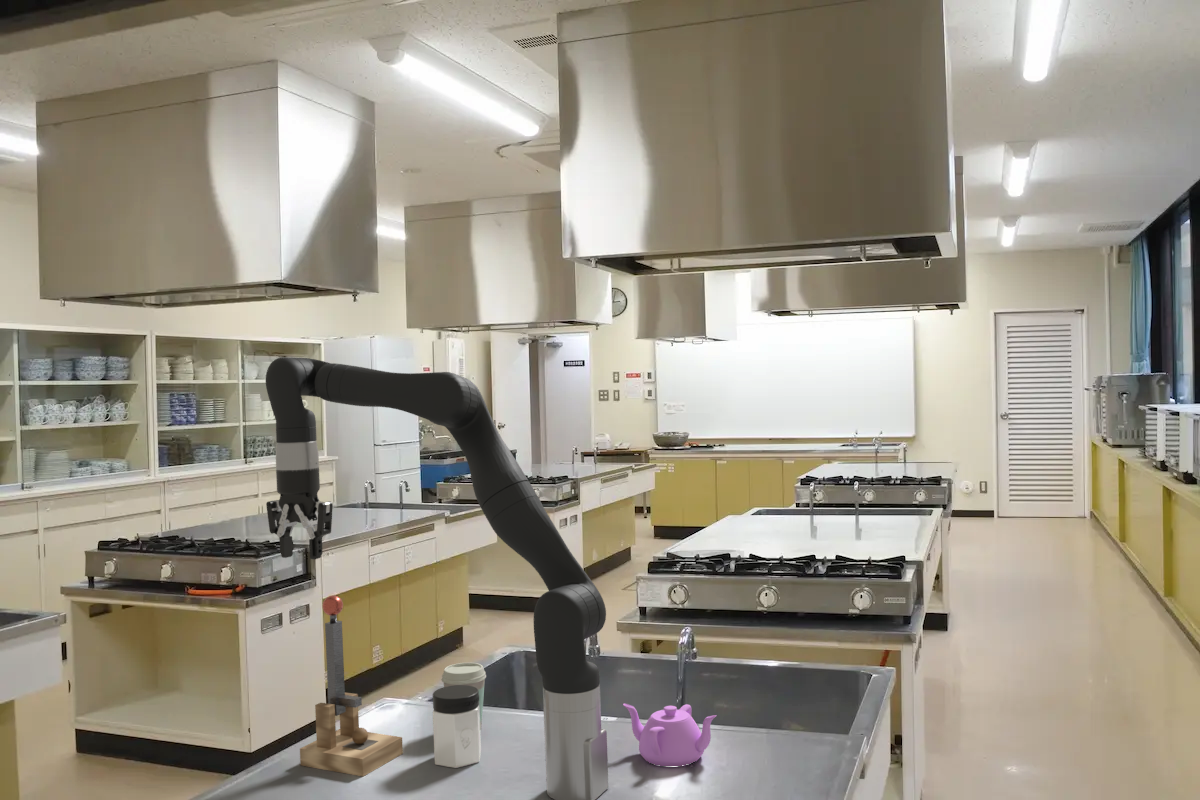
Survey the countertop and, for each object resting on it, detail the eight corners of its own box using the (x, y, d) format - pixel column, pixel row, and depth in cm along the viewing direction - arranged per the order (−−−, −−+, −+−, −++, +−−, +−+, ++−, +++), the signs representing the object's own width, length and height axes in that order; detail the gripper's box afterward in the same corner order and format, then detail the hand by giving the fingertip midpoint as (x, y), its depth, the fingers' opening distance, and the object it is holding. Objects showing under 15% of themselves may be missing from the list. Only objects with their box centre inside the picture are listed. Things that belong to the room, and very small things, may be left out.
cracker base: (402, 753, 178) (400, 696, 178) (363, 776, 168) (360, 715, 168) (342, 743, 184) (339, 688, 184) (300, 765, 174) (298, 706, 174)
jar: (444, 772, 169) (442, 702, 168) (425, 758, 175) (422, 691, 175) (491, 759, 174) (488, 692, 173) (471, 746, 180) (468, 681, 180)
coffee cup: (497, 726, 191) (494, 664, 190) (469, 740, 183) (466, 676, 183) (463, 719, 195) (460, 659, 195) (434, 733, 188) (431, 671, 188)
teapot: (719, 765, 167) (717, 714, 167) (639, 775, 164) (638, 722, 164) (698, 741, 179) (696, 693, 179) (624, 749, 176) (622, 700, 176)
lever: (366, 712, 177) (362, 594, 177) (351, 720, 173) (346, 599, 173) (337, 708, 180) (332, 592, 180) (321, 715, 176) (316, 597, 176)
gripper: (342, 465, 180) (345, 556, 180) (282, 464, 186) (286, 552, 186) (313, 468, 173) (317, 563, 173) (252, 468, 179) (256, 559, 180)
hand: (301, 557), depth 180 cm, fingers open, 6 cm apart
